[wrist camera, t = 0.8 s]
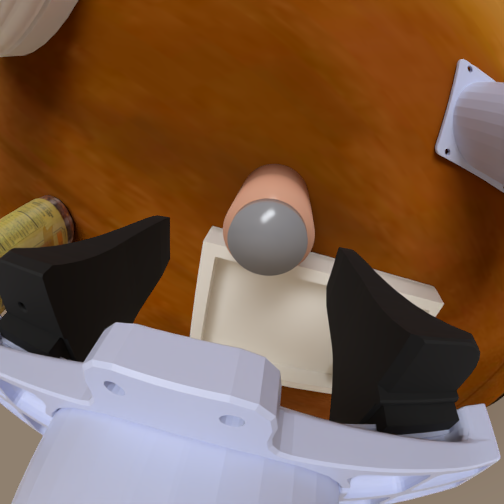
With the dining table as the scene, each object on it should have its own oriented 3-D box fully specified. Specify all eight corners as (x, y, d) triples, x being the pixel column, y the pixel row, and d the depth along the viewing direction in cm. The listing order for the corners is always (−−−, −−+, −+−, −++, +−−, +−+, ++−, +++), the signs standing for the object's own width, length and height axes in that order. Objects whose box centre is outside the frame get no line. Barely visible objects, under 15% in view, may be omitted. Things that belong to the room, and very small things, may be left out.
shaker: (317, 174, 19) (329, 211, 13) (297, 234, 22) (298, 291, 16) (249, 156, 19) (229, 184, 13) (235, 218, 22) (212, 268, 16)
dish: (434, 286, 22) (444, 303, 20) (366, 380, 29) (369, 398, 27) (212, 225, 22) (203, 240, 20) (193, 344, 29) (186, 362, 27)
